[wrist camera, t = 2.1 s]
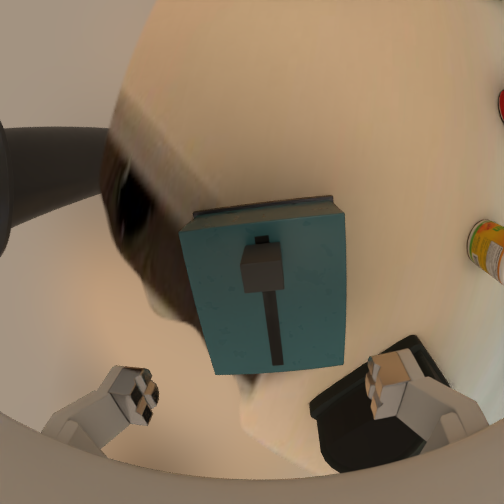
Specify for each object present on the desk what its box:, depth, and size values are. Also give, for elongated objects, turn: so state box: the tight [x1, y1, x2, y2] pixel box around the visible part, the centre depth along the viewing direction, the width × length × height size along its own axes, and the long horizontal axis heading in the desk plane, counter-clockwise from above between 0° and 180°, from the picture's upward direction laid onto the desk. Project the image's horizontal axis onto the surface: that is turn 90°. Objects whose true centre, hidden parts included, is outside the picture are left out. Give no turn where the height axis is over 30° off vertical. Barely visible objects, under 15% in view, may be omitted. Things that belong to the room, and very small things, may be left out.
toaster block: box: [179, 195, 346, 375], centre depth 25 cm, size 13×15×6 cm
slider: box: [240, 242, 285, 293], centre depth 19 cm, size 2×2×4 cm
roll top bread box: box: [309, 335, 451, 473], centre depth 27 cm, size 17×14×20 cm
